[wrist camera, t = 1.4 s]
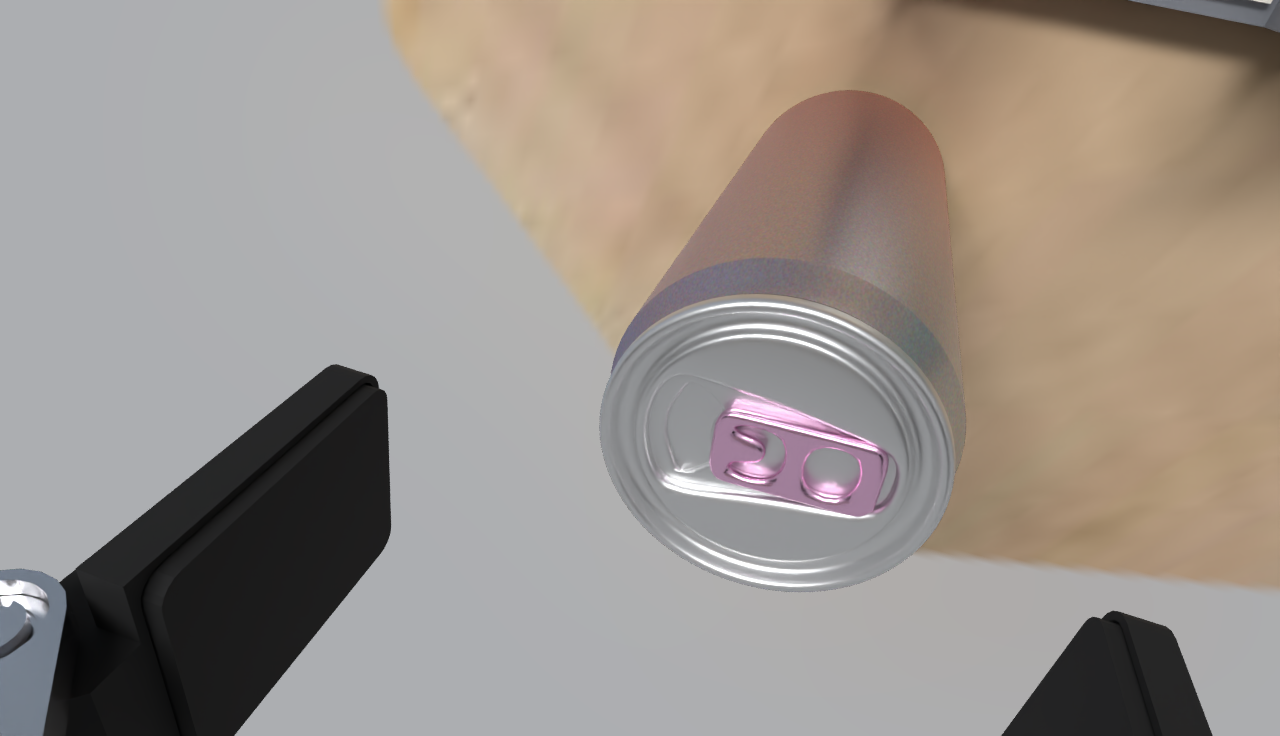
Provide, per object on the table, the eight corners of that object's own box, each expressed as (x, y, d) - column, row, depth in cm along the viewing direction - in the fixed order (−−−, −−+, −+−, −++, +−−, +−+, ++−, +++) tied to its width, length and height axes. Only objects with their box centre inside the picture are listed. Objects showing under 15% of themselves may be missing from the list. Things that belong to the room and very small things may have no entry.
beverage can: (913, 288, 25) (905, 644, 13) (736, 251, 27) (578, 545, 14) (971, 102, 22) (1032, 343, 10) (767, 71, 23) (597, 250, 11)
